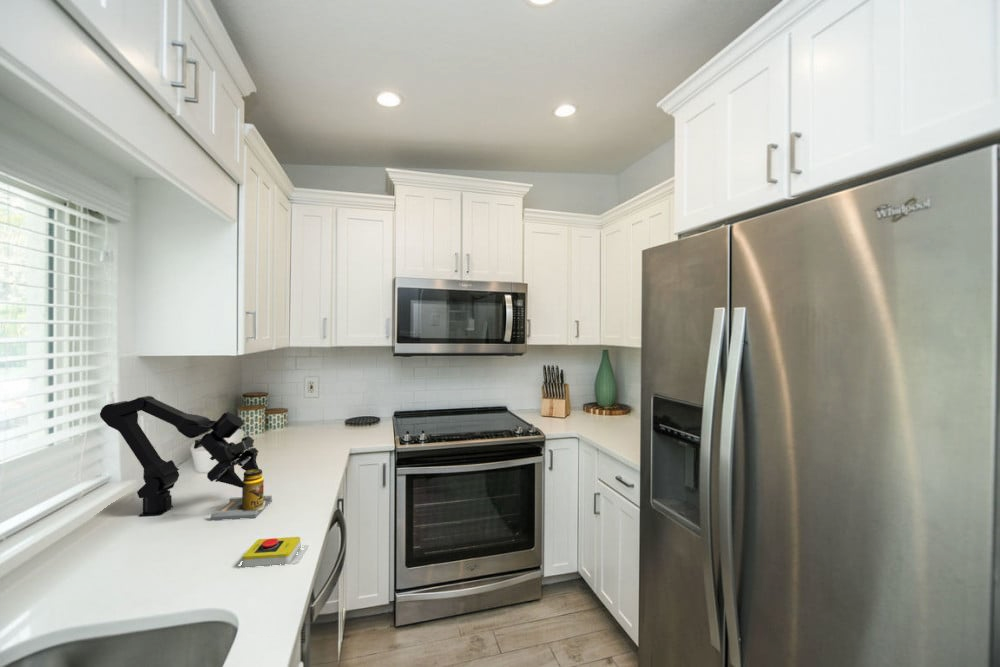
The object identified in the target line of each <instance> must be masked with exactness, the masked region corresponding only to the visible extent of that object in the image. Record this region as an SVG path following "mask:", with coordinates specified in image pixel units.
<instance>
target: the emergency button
mask: <svg viewBox="0 0 1000 667" xmlns="http://www.w3.org/2000/svg"><path fill="white" fill-rule="evenodd" d="M301 542H302V541H301V536H290V537H275V538H274V537H273V538H259V539H257V540H256V541H254V543H253V544H252V545H251V546H250V547H249V548H248V549H247V550H246V552H245V553H244V554H243V556H242V559H241V560H242V561H243V562H242V565H241V566H238V564H240V563H238V564H236V567H237V568H236V567H235V568H236V569H245V567H250V568H256V567H255V566H264V567H273V566H272V565H279V566H286V565H285V564H293V565H298V564H299V563H300V562H301V560H302V559H303V557H304V556H305V554H306V553H305V552H307V551H308V550H309V548H308V547H310V546H309V545H308V544H302V543H301ZM301 545H302V546H304V547H302V548H304V550H301V549H300V548H301ZM297 552H298V555H296V554H297ZM303 555H304V556H303ZM280 564H281V565H280ZM270 565H271V566H270Z"/></svg>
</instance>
